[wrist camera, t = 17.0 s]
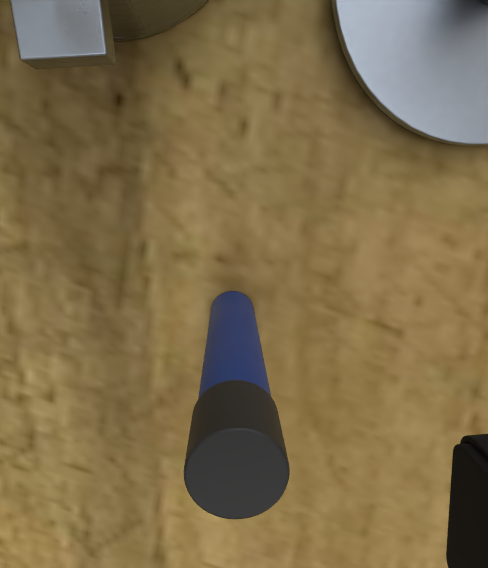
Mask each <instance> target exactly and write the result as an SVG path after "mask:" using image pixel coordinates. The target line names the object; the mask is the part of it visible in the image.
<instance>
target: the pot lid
mask: <svg viewBox="0 0 488 568" xmlns="http://www.w3.org/2000/svg"><path fill="white" fill-rule="evenodd" d="M332 10H333V15H334V20H335V26H336V31H337V34H338V38H339V41H340V44H341V47H342V50H343V53H344V55H345V58H346V60H347V62H348V64H349V66H350V68H351V71H352V73H353V74H354V76H355V77H356V79H357V81H358V82H359V84H360V85H361V87H362V89H363V90H364V91H365V93H366V94H367V95H368V96H369V97H370V98H371V100H372V101H373V102H374V103H375V104H376V106H378V107H379V108H380V109H381V110H382V111H383V112H384V113H385V114H386V115H388V116H389V117H390V118H391V119H392V120H394V121H395V122H397V123H398V124H400V125H401V126H403V127H404V128H406V129H408V130H410V131H412V132H414V133H416V134H418V135H420V136H423V137H425V138H428V139H432V140H435V141H438V142H442V143H448V144H455V145H487V144H488V0H332Z"/></svg>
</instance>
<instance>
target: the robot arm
mask: <svg viewBox="0 0 488 568" xmlns="http://www.w3.org/2000/svg"><path fill="white" fill-rule="evenodd" d="M446 558H447V564H448V567H449V568H488V434H481V435H469V436H464V437H463V438H462V440H461V443H460V444H457V445H455V447H454V449H453V460H452V476H451V491H450V506H449V521H448V537H447V552H446Z"/></svg>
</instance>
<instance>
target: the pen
mask: <svg viewBox="0 0 488 568" xmlns="http://www.w3.org/2000/svg"><path fill="white" fill-rule="evenodd" d="M288 480H289V462H288V458H287V453H286V448H285V444H284V439H283V434H282V429H281V425H280V420H279V415H278V411H277V407H276V405H275V402H274V401H273V399H272V397H271V394H270V389H269V384H268V379H267V374H266V368H265V363H264V358H263V353H262V348H261V343H260V338H259V333H258V328H257V323H256V318H255V313H254V308H253V304H252V302H251V301H250V299H249V298H248V297H247V296H246V295H244V294H243V293H240V292H237V291H228V292H225V293H222V294H221V295H219V296H218V297H217V298H216V299H215V300H214V302H213V304H212V307H211V313H210V320H209V327H208V334H207V341H206V348H205V355H204V362H203V369H202V377H201V384H200V391H199V398H198V401H197V402H196V404H195V407H194V410H193V414H192V421H191V427H190V433H189V440H188V446H187V453H186V459H185V465H184V481H185V485H186V488H187V490H188V492H189V494H190V496H191V497H192V499H193V500H194V501H195V502H196V503H197V505H198V506H200V507H201V508H202V509H203V510H205V511H207V512H208V513H210V514H213V515H215V516H218V517H222V518H227V519H244V518H249V517H253V516H256V515H259V514H261V513H263V512H265V511H266V510H268V509H269V508H271V507H272V506H273V505H274V504H275V503H276V502H277V501H278V500H279V499H280V497H281V496H282V495H283V493H284V491H285V489H286V486H287V483H288Z"/></svg>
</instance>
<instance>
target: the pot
mask: <svg viewBox="0 0 488 568" xmlns="http://www.w3.org/2000/svg"><path fill="white" fill-rule="evenodd" d="M207 1H208V0H10V4H11V10H12V15H13V21H14V27H15V33H16V39H17V44H18V50H19V56H20V59H21V61H23V62H25V63H26V64H28V65H30V66H32V67H33V68H35V69H50V68H67V67H84V66H101V65H114V64H116V58H115V50H114V42H113V41H127V40H135V39H141V38H144V37H148V36H151V35H155V34H158V33H160V32H163V31H165V30H167V29H169V28H172V27H174V26H176V25H177V24H179V23H180V22H182V21H184V20H185V19H187V18H188V17H190V16H191V15H193V14H194V13H195V12H196V11H197V10H198V9H200V8H201V7H202V6H203V5H204V4H205V3H206V2H207Z"/></svg>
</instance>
